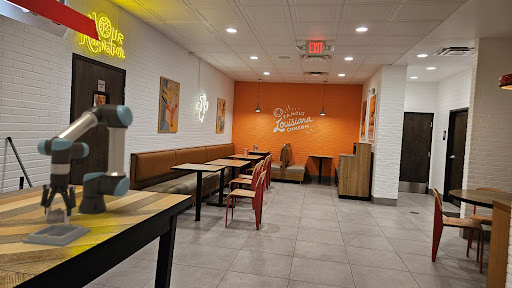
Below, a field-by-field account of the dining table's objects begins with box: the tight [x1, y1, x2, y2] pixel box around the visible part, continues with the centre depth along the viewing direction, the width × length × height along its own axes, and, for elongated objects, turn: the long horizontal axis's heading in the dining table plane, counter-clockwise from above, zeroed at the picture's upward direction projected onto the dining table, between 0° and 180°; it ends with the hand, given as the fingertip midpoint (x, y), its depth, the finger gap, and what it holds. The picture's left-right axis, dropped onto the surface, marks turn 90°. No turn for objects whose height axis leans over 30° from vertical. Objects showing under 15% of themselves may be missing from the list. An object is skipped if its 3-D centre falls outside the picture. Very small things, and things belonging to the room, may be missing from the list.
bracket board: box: [22, 222, 92, 248], centre depth 149 cm, size 22×18×4 cm
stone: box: [45, 207, 65, 225], centre depth 147 cm, size 8×10×6 cm
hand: (57, 222), depth 146 cm, fingers closed on stone, 8 cm apart
